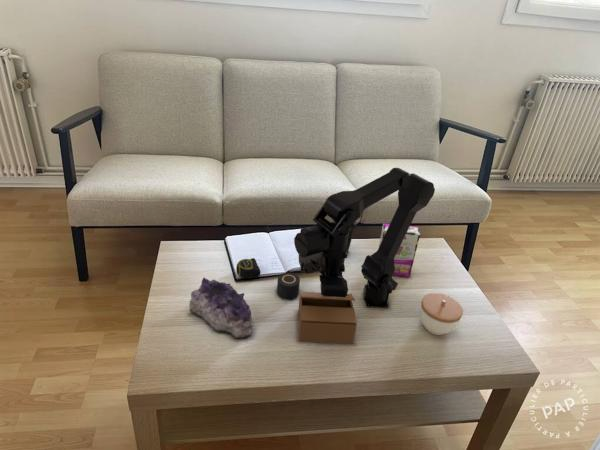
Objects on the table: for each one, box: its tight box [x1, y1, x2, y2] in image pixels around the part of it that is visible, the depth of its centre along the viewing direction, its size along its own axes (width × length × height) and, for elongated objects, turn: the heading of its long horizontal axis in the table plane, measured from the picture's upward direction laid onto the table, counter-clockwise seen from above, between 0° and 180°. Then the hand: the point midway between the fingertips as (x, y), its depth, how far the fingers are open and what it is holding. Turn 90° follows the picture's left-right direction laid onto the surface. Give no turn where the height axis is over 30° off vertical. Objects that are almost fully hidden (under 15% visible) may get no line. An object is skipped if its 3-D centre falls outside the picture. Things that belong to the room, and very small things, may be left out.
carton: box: [297, 293, 358, 345], centre depth 109 cm, size 14×11×7 cm
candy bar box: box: [378, 222, 421, 278], centre depth 131 cm, size 11×5×16 cm, turn 84°
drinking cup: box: [346, 219, 358, 255], centre depth 137 cm, size 8×8×20 cm
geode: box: [188, 277, 254, 340], centre depth 109 cm, size 20×12×10 cm, turn 53°
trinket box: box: [419, 292, 464, 336], centre depth 112 cm, size 11×11×9 cm
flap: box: [299, 291, 356, 301], centre depth 109 cm, size 14×5×1 cm, turn 91°
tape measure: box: [235, 257, 261, 279], centre depth 127 cm, size 7×7×4 cm
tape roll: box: [276, 272, 301, 301], centre depth 121 cm, size 6×6×5 cm
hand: (327, 294), depth 108 cm, fingers closed
